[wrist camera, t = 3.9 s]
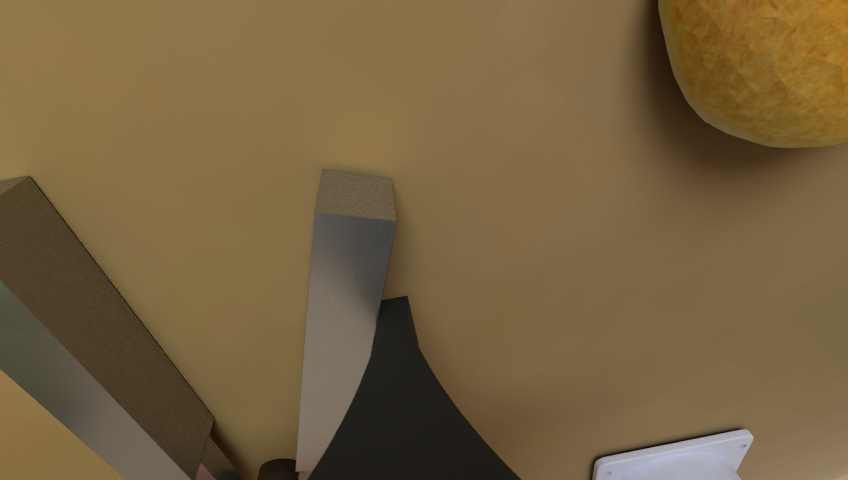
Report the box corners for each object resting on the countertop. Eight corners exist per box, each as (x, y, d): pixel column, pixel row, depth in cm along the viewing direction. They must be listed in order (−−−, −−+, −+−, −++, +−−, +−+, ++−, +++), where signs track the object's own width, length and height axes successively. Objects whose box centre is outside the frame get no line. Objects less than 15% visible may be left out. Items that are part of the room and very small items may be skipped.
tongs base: (311, 477, 20) (305, 536, 18) (227, 494, 20) (212, 555, 18) (114, 159, 10) (55, 208, 8) (-44, 190, 10) (-140, 245, 8)
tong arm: (341, 460, 19) (339, 515, 17) (299, 460, 18) (292, 516, 16) (391, 178, 11) (396, 220, 10) (322, 168, 11) (314, 211, 9)
